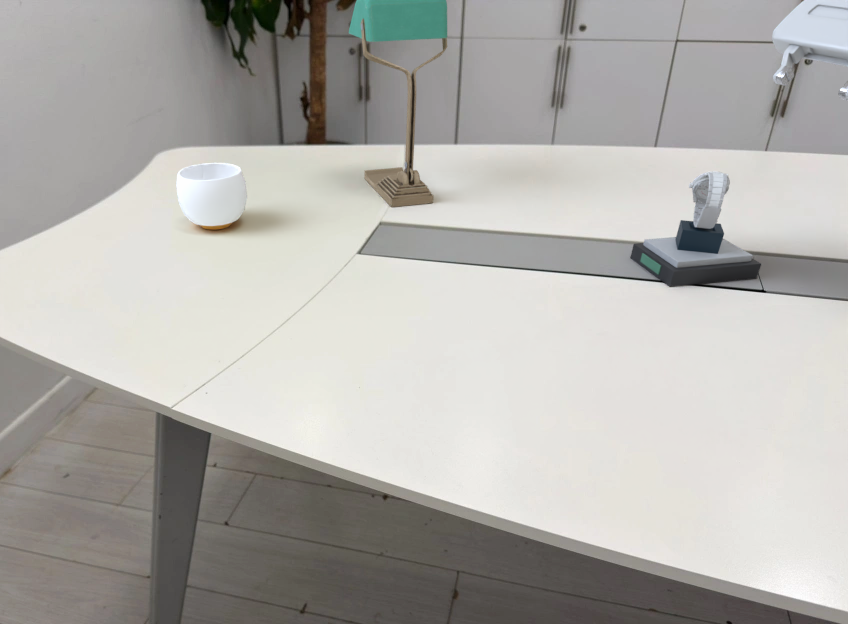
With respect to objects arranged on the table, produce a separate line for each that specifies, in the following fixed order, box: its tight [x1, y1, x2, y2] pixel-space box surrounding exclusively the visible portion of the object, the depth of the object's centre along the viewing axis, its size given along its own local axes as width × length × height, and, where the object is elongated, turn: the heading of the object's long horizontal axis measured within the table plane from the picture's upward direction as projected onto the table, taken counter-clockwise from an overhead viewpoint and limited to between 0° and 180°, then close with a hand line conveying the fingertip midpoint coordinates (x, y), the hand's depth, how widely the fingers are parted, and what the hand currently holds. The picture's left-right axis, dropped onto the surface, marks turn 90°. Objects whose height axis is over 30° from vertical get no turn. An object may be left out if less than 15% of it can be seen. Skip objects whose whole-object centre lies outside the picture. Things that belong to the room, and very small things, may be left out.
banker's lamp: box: [348, 0, 448, 208], centre depth 129 cm, size 16×21×35 cm
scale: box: [630, 236, 762, 287], centre depth 103 cm, size 14×11×3 cm
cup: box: [175, 162, 248, 231], centre depth 120 cm, size 12×12×10 cm
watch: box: [675, 170, 731, 254], centre depth 99 cm, size 6×8×11 cm
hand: (810, 89), depth 88 cm, fingers open, 8 cm apart
